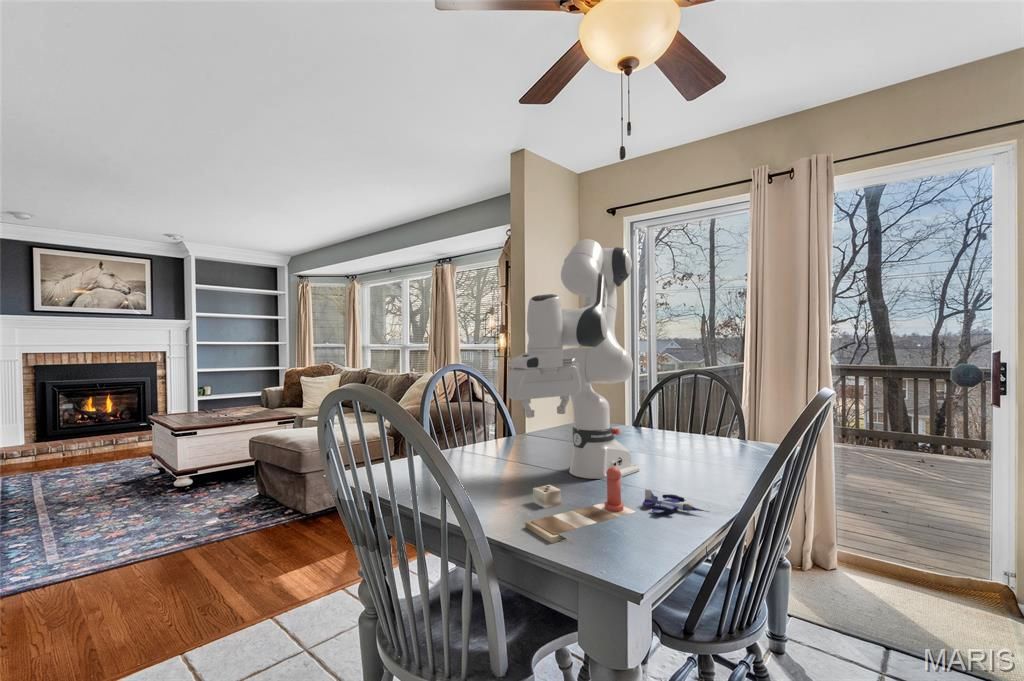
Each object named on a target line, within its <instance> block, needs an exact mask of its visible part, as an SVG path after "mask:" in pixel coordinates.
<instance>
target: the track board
mask: <svg viewBox="0 0 1024 681" xmlns="http://www.w3.org/2000/svg"><path fill="white" fill-rule="evenodd" d="M634 513H637V511H636V510H633V509H631V508H630V507H629V508H628V507H626V506H624V510H623V511H620V512H611V511H607V510H606V509H605V502H602V503H598V504H594V505H589V506H586V507H582V508H577V509H574V510H569V511H565V512H561V513H557V514H554V515H550V516H545V517H542V518H537V519H532V520H528V521H525V522H524V526H525V527H526V528H525V529H527V530H528V531H530V532H532V533H533V534H535V535H537V536H539V537H541V538H542V539H544V540H545V541H547V542H549V543H550V544H555V543H558V542H561V541H565V540H567V538H566V537H564V536H562V535H560V534H562V533H565V532H568V531H572V530H575V529H579V528H583V527H587V526H590V525H594V524H597V523H602V522H604V521H608V520H612V519H615V518H619V517H623V516H627V515H630V514H634Z"/></svg>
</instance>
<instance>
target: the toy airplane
mask: <svg viewBox="0 0 1024 681" xmlns="http://www.w3.org/2000/svg"><path fill="white" fill-rule="evenodd" d="M662 498H663V499H662V500H658V499H659V497H658V496H656V495H654V493H653V492H652V490H649V489H645V490H644V501H643V502H642V503H641V504H642V505H644V506H651V507H650V508H651V513H654V514H669V515H674V514H675V513H676V512H679V511H680V510H681V511H683V512H684V511H685V512H687V513H689V512H693V511H697V512H700V511H701V512H708V513H710V511H709V510H708V511H707V510H703V509H701V508H699V507H698V508H697V507H695V506H694V505H693V504H691V503H688V502H685V501H687V500H686V499H685V498H684V497H682V496H678V495H676V494H662ZM684 502H685V503H684ZM654 504H656V505H654Z"/></svg>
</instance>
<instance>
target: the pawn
mask: <svg viewBox="0 0 1024 681" xmlns="http://www.w3.org/2000/svg"><path fill="white" fill-rule="evenodd" d="M606 475H607V478H606V501H605V502H604V503H605V509H606V510H607V511H611V512H620V511H623V510H624V507H625V506H624V502H622V489H621V488H622V486H621V484H622V480H621V478H622V477H621V472H620V470H619V469H618V468H616V467H610V468H609V469H608V470H607V473H606Z"/></svg>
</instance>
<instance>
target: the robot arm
mask: <svg viewBox="0 0 1024 681" xmlns="http://www.w3.org/2000/svg"><path fill="white" fill-rule="evenodd" d="M632 266H633V262H632V257H631V254H630V252H629V251H628V249H627V248H625V247H620V246H619V247H616V246H615V247H614V248H613V247H602V246H601V244H600V243H599V242H598V241H596V240H593V239H591V238H585V239H581V240H579V241H578V242H576V244H575V245H574V246H573V247H572V249H570V251H569V253H568V254H567V256H566V257H565V258H564V262H563V264H562V267H561V271H560V279H561V281H562V282H561V283H562V284H563V285H564V287H565V288H566V289H567V291H568V292H570V293H571V294H573V295H576V296H581V297H585V298H584V300H583V304H582V307H581V308H562V304H561V298H560V295H557V294H553V293H551V294H550V293H549V294H541V295H540V294H539V295H538V294H537V295H534V296H532V297H531V298H530V299H529V302H528V304H527V305H528V307H527V313H526V314H527V317H526V332H527V335H528V342H527V347H526V348H527V349H526V351H527V352H525V353H523V354H520V355H517V356H516V357H513V358H511V359H510V360H509V367H510V370H509V371H508V376H507V385H506V386H507V389H506V390H507V391H506V392H507V396H508V397H509V399H510V400H513V401H520V402H521V406H522V407H523V408H524V410H525V417H526V418H528V419H531V418H532V419H533V418H535V409H532V408H531V406H530V404H531V403H532V401H531V400H535V399H545V398H555V397H559V399H560V400H561V401H560V404H559V406H556V414H558V415H565V414H566V407H567V406H568V403H569V401H570V399H571V402H572V403H571V404H572V409H573V410H572V411H573V412H572V413H573V427H572V441H573V448H572V457H571V464H570V467H569V471H568V472H569V473H570V475H572V476H575V477H578V478H583V479H594V480H595V479H596V480H597V479H599V480H603V479H607V475H606V473H607V470H608V469H609V468H610V467H616V468H618V469H619V470H620V472H621V477H620V478H623V477H625V476H628V475H631V474H633V473H636V472H639V471H640V467H639V465H636V464H634V463H632V456H631V452H630V451H629V449H628V448H626V446H624V445H622V444H621V443H620V442H619V441H618V440H616V439H615V436H614V435H617V436H620V434H621V433H622V432H621V429H620V428H618V427H617V428H616V427H613V428H612V427H611V425H610V424H611V423H610V422H611V421H610V420H611V419H610V418H611V417H610V404H609V402H608V400H607V399H606V398H605V397H604V396H602V395H601V394H599V393H597V392H596V391H595V390H594V389H593V387H592V384H618V383H622V382H627V380H628V379H630V376H632V374H633V371H634V370H633V369H634V362H633V359H632V356H631V355H630V353H629V352H628V351H627V350H626V349H625V348H623V347H622V346H621V345H620V344H619V342H618V340H617V338H616V332H615V329H616V318H617V310H618V296H617V293H618V292H617V288H616V287H621V286H622V284H623V283H624V282H625V281H626V280H627V279H628V277H629V276H630V274H631V271H632ZM565 346H566V347H569V346H570V347H569V348H564V347H565ZM573 346H574V347H573ZM575 346H577V347H575ZM580 346H581V347H580Z"/></svg>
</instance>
